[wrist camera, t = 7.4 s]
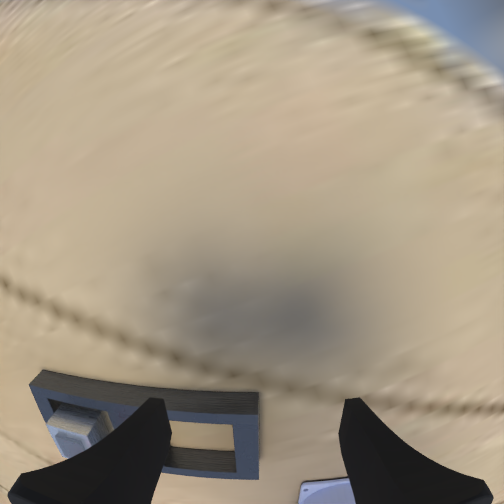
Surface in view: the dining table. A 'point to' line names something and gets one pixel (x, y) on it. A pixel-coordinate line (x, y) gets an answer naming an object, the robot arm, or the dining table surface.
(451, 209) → the dining table surface
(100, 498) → the robot arm
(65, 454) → the grey metal block
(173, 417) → the blue-grey frame board
